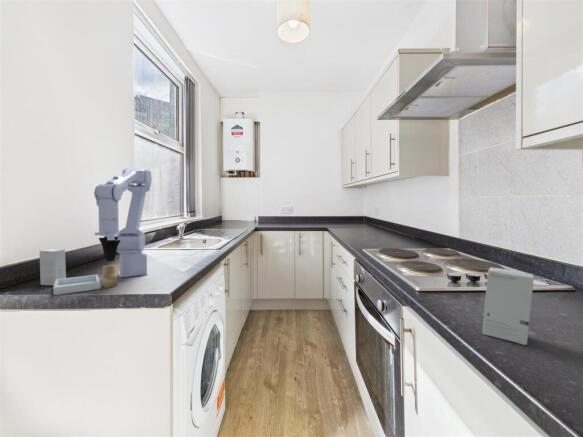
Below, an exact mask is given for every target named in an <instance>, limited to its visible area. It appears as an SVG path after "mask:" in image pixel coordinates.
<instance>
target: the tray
mask: <svg viewBox="0 0 583 437" xmlns="http://www.w3.org/2000/svg"><path fill="white" fill-rule="evenodd" d="M52 288H53V289H52V290H53V292H52V293H53V296H58V295H65V294H72V293H79V292H86V291H92V290H100V289H101V281H100V277H99V274H91V275H84V276H75V277H74V276H73V277H66V278H64V279H56V280H55V284H54V285H53V287H52Z"/></svg>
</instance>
